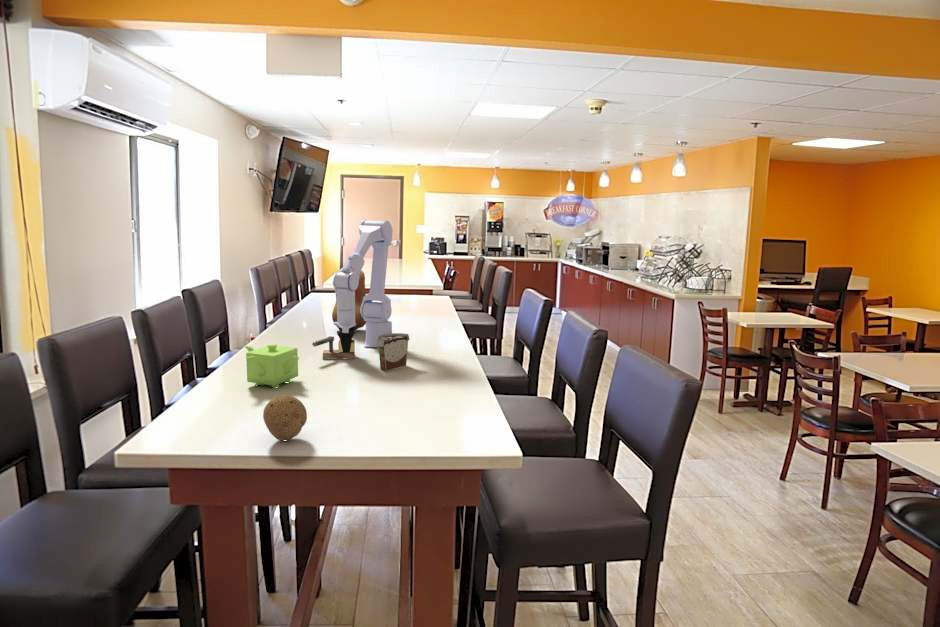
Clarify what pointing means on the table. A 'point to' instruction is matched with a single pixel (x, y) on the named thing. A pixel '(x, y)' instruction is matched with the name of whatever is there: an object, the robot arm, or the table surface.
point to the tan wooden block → (350, 348)
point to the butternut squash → (359, 295)
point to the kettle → (271, 364)
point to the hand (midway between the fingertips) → (346, 350)
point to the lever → (323, 341)
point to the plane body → (337, 353)
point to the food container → (392, 350)
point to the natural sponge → (284, 417)
